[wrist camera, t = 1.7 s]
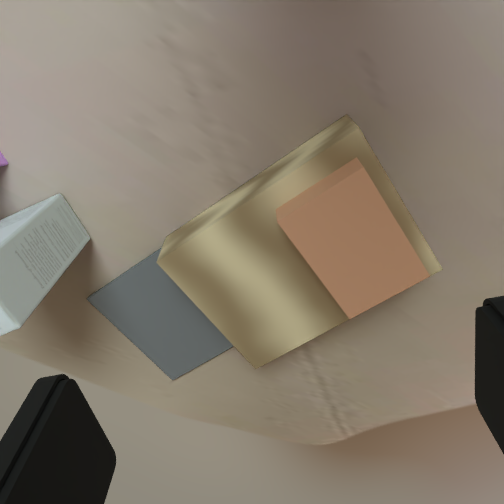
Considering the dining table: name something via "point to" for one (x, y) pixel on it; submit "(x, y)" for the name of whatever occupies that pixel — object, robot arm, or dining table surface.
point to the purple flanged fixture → (2, 160)
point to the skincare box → (35, 256)
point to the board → (273, 251)
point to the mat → (160, 318)
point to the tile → (351, 239)
